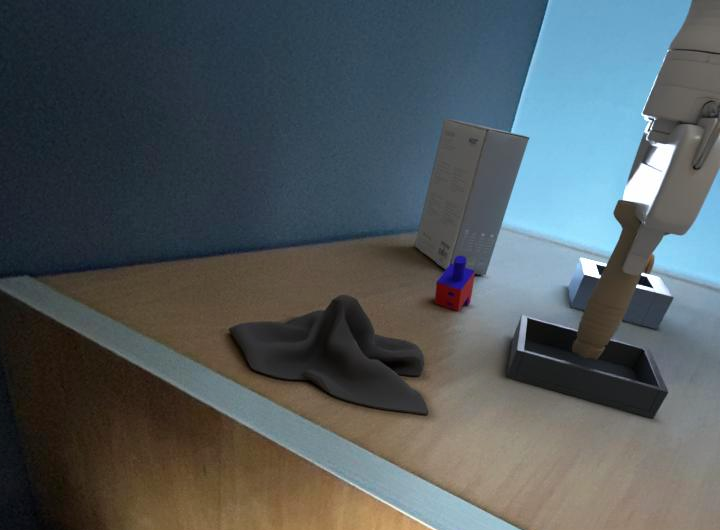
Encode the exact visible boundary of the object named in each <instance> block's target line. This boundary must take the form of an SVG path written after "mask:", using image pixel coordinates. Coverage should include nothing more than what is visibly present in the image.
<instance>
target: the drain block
mask: <svg viewBox="0 0 720 530" xmlns="http://www.w3.org/2000/svg"><path fill="white" fill-rule="evenodd" d="M606 265H607V263H605V262H601V261H596V260H592V259H588V258H585V257H579V259H578V263H577V264H576V267H575V269H574V271H573V274H572V277H571V280H570V282H569V284H568V286H567V287H568V295H569V296H568V297H569V304H570V308H573V309H577V310H580V311H583V312H584V311H585V308H586V305H587V304H588V301H589V299H590V298H591V297H590V296H591V294H592V292H593V291H594V289H595V287H596V285H597V283H598V281H599V279H600V277H601V275H602V273H603V271H604V269H605V267H606ZM674 298H675V296H674V295H673V293H672V292H671V291H670V289H669V288H668V287H667V285H666V284H665V283H664V281H663V280H662V278H661V277H660V276H656V275H652V274H645V273H642V274H641V277H640V279H639V282H638V284H637V286H636V289H635V291H634V294H633V296H632V299H631V301H630V304H629V306H628V308H627V311H626V313H625V315H624V317H623V319H622V321H623V322H626V323H629V324H632V325H633V324H634V325H638V326H641V327H645V328H649V329H652V330H653V329H654V330H658V329H659V327H660V325H661V323H662V321H663V319H664V318H665V316H666V314H667V311H668V310H669V308H670V307H671V304H672V302H673V300H674ZM622 321H621V322H622Z"/></svg>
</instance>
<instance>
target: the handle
mask: <svg viewBox="0 0 720 530" xmlns="http://www.w3.org/2000/svg"><path fill="white" fill-rule="evenodd" d="M635 210H636V206H635V205H634V204H633V203H632V202H631V201H626V200H623V199H618V200H617V202H616V205H615V207H614V210H613V212H612V213H613V217H614V219H615V220H616V221H617V222H618V224H619V225H620V227H621V231H620V235H619V238H618V241H617V242H616V244H615V247H614V248H613V250H612V253H611V255H610V256H609V259H608V261H607V263H606V264H607V265H606V267H605V269H604V271H603V273H602V275H601V277H600V279H599V281H598V283H597V285H596V287H595V289H594V291H593V292H592V294H591V296H590V297H591V298H590V299H589V301H588V304H587V305H586V308H585V311H584V310H583V313H582V316H581V319H580V322H579V324H578V328H577V330H578V331H577V337H578V338H577V339H576V340H574V343H573V346H572V351H573V352H574V353H576V354H578V355H579V356H580V357H582V358H589V359H593V360H596V359H598V358H599V357H600V355H601V354H602V353H603V351H604V349H605V347H604V346H605V345H607V344H608V343H609V341H610V340H611V339H613V337H614V336H615V333H616V332H617V330H618V328H619V327H620V325H621V323H622V319H623V317H624V315H625V313H626V311H627V308H628V306H629V304H630V301H631V299H632V296H633V294H634V291H635V289H636V286H637V284H638V282H639V279H640V277H641V274H642V272H643V271H642V272H641V274H639V275H632V274H628V273H625V272H624V271H623V269H622V263H623V261H624V259H625V257H626V254H627V252H628V250H629V251H630V249H631V246H632V244H633V242H634V240H635V238H636V236H637V234H638V233H637V231H638V229H639V227H640V224H641V221H640V220H639V219H638V217H637V216H636V215H635ZM669 235H671V234H670V233H665V234H664V236H663V237H666V236H669ZM646 263H647V262H646ZM645 265H646V264H645ZM643 270H644V269H643Z"/></svg>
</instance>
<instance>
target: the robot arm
mask: <svg viewBox="0 0 720 530" xmlns="http://www.w3.org/2000/svg"><path fill="white" fill-rule="evenodd" d="M668 46H669V47H668V48H667V51H666V53H665V56H664V58H663V60H662V63H661V65H660V68H659V70H658V73H657V75H656V77H655V80H654V81H653V85H652V87H651V90H650V92H649V95H648V97H647V100H646V102H645V104H644V107H643V109H642V111H641V116H642V117H644V118H643V119H644V120H645V121H648V123H647V124H646V127H645V130H644V131H643V134H642V137H641V139H640V142H639V145H638V148H637V151H636V154H635V156H634V160H633V163H632V165H631V168H630V172H629V174H628V177H627V181H626V185H625V187H624V191H623V196H622V200H626V201H631V202H632V203H633V204H634V205H635V206H636V210H635V215H636V216H637V217H638V219H639V220H640V221H641V224H640V227H639V229H638V231H637V233H638V234H637V236H636V238H635V240H634V242H633V244H632V246H631V249H630V251H629V250H628V252H627V254H626V257H625V259H624V261H623V263H622V269H623V271H624V272H625V273H628V274H632V275H639V274H641V272H642V271H643V269H644V267H645V264H646V262H647V260H648V258H649V257H650V256H651V254H654V252H655V251H656V249H657V247H658V246H659V245H660V243H661V242H662V240H663V238H664V237H665V236H664V234H665V233H670V234H669V235H675V236H685V235H686V234H687V233H688V231H689V230H690V229H691V227H692V226H693V225H694V223H695V222H696V220H697V218H698V216H699V214H700V212H701V210H702V208H703V206H704V204H705V201H706V199H707V197H708V195H709V193H710V191H711V188H712V187H713V185H714V182H715V180H716V177H717V176H718V173H719V171H720V0H690V5H689V9H688V12H687V15H686V17H685V19H684V21H683V24H682V25H681V27H680V28H679V30H678V32H677V34H676V35H674V38H673V39H672V40H671V43H670V44H669V45H668Z"/></svg>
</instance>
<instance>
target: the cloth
mask: <svg viewBox="0 0 720 530" xmlns="http://www.w3.org/2000/svg"><path fill="white" fill-rule="evenodd" d="M228 331H229V333H230V334H231V336H232V337H233V338H234V340H235V341H236V343H237V345H238V346H239V347H240V348H241V350H242V352H243V355H244V356H245V359H246V361H247V363H248V364H249V365H248V366H249V367H250V368H251V369H252V370H254V371H256V372H258V373H260V374H263V375H266V376H268V377H272V378H275V379H278V380H287V381H311V382H312V383H314V384H316V385H317V386H318V387H319V388H321V389H322V390H323V391H325V392H327V393H329V394H330V395H331V396H332V397H334V398H336V399H340V400H342V401H345V402H349V403H352V404H356V405H360V406H363V407H369V408H374V409H380V410H387V411H392V412H393V411H395V412H401V413H402V412H403V413H410V414H416V415H417V414H418V415H424V416H427V415H429V411H430V410H429V408H428V406H427V403H426V401H425V400H424V397H423V395H422V394H421V393H420V392H419V391H418V390H416V389H413V388H412V387H411V386H410V385H409V384H408V383H407V382H406V381H405V380H404V379H403V378H402V376H408V377H420V376H421V375H422V373H423V370H424V367H425V364H426V363H425V362H426V361H425V356H424V353H423V351H422V349H421V348H420V346H418V345H417V344H416V343H414V342H410V341H408V340H405V339H400V338H394V337H389V336H388V337H387V336H384V335H381V334H376V333H375V329H374V325H373V324H372V322H371V318H370V317H369V316H368V315H367V314H366V312H365V311H364V309H363V307H362V306H361V304H360V302H359V300H358V299H357V298H355V297H354V296H351V295H348V294H339V295H338V296H336V297H334V298H332V300H331V301H330V303H329V304H328V306H327V307H326V308H325V309H318V310H314V311H311V312H308V313H306V314H303V315H300V316H297V317H294V318H291V319H289V320H287V321H285V322H281V321H272V320H271V321H270V320H269V321H248V322H242V323H238V324H236V325H233V326H231V327H228Z"/></svg>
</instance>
